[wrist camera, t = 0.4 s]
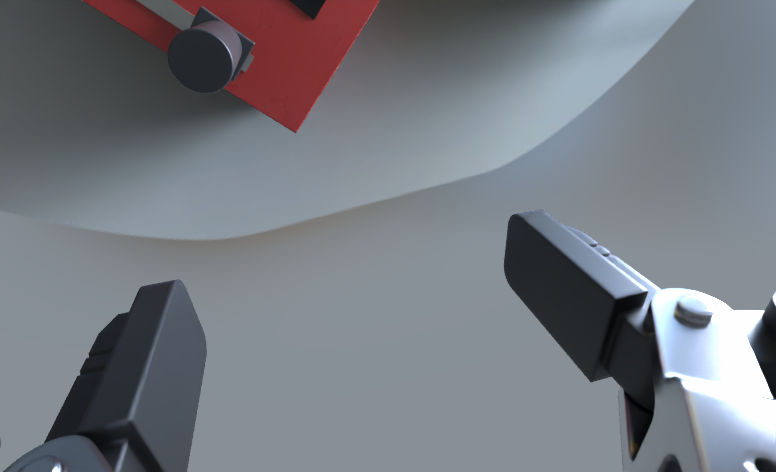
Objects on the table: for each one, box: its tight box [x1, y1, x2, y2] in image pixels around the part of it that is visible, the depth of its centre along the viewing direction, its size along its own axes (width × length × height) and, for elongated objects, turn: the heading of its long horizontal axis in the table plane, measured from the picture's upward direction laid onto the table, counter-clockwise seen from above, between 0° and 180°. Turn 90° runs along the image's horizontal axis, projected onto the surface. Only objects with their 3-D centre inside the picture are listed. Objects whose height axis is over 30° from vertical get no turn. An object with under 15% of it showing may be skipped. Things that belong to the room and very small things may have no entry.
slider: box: [168, 6, 255, 93], centre depth 19 cm, size 3×2×7 cm
